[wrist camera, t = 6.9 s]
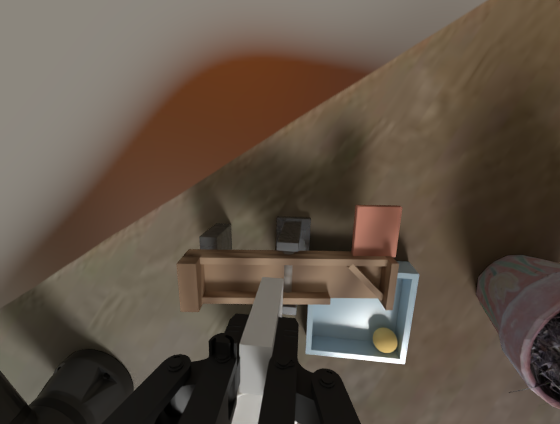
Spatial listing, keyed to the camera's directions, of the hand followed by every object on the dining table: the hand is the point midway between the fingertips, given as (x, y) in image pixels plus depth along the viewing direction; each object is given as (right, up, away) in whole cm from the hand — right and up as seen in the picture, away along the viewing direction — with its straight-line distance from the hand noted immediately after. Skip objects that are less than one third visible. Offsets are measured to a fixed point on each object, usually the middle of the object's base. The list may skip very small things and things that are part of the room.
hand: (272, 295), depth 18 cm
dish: (+12, -8, +23) cm, 28 cm away
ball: (+16, -14, +21) cm, 30 cm away
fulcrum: (+3, 0, +22) cm, 23 cm away
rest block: (-8, +1, +24) cm, 25 cm away
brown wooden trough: (+2, +1, +14) cm, 14 cm away
